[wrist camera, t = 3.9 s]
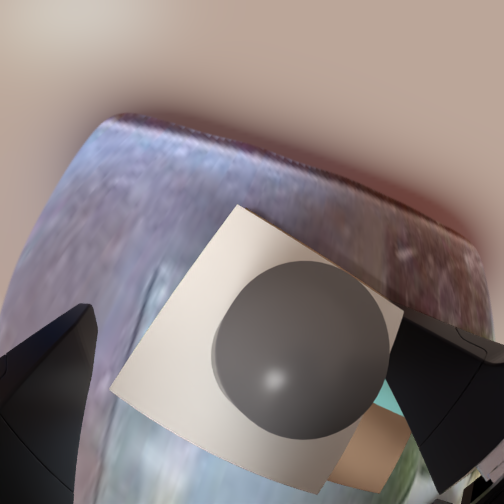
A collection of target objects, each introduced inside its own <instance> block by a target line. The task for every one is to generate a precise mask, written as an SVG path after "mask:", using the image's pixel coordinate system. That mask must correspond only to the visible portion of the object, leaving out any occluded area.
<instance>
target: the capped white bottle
mask: <svg viewBox="0 0 504 504" xmlns="http://www.w3.org/2000/svg"><path fill="white" fill-rule="evenodd" d="M403 313H404V311H403V310H401V309H400V308H398V307H397V306H395V305H394V304H392V303H391V302H389V301H388V300H387V299H385V298H384V297H382V296H381V295H379V294H378V293H376V292H375V291H373V290H372V289H370V288H369V287H367V286H366V285H364V284H363V283H361V282H360V281H358V280H357V279H355V278H354V277H353V276H351V275H350V274H348V273H347V272H345V271H343V270H341V269H340V268H338V267H337V266H335V265H334V264H332V263H331V262H329V261H327V260H326V259H324V258H323V257H321V256H320V255H318V254H317V253H315V252H313V251H312V250H310V249H309V248H307V247H306V246H304V245H302V244H301V243H299V242H298V241H296V240H294V239H293V238H291V237H290V236H288V235H286V234H285V233H283V232H282V231H280V230H278V229H277V228H275V227H274V226H272V225H270V224H269V223H267V222H265V221H264V220H262V219H261V218H259V217H257V216H256V215H254V214H252V213H251V212H249V211H247V210H246V209H244V208H243V207H241V206H239V205H238V204H237V206H236V207H235V208H234V210H233V211H232V212H231V214H230V215H229V216H228V218H227V219H226V220H225V222H224V223H223V224H222V226H221V227H220V228H219V230H218V231H217V232H216V234H215V235H214V237H213V238H212V239H211V241H210V242H209V243H208V245H207V246H206V247H205V249H204V250H203V252H202V253H201V254H200V256H199V257H198V259H197V260H196V261H195V263H194V264H193V265H192V267H191V268H190V270H189V271H188V272H187V274H186V275H185V277H184V278H183V280H182V281H181V282H180V284H179V285H178V287H177V288H176V289H175V291H174V292H173V294H172V295H171V297H170V298H169V300H168V301H167V302H166V304H165V305H164V307H163V308H162V310H161V311H160V313H159V314H158V315H157V317H156V318H155V320H154V321H153V323H152V324H151V326H150V327H149V329H148V330H147V332H146V333H145V335H144V336H143V338H142V339H141V341H140V342H139V344H138V345H137V347H136V348H135V350H134V351H133V353H132V354H131V356H130V357H129V359H128V360H127V362H126V363H125V365H124V367H123V368H122V370H121V371H120V373H119V374H118V376H117V377H116V379H115V381H114V382H113V384H112V385H111V387H110V388H109V390H110V391H111V392H113V393H114V394H115V395H117V396H118V397H120V398H121V399H122V400H124V401H125V402H126V403H128V404H129V405H131V406H132V407H134V408H135V409H136V410H138V411H139V412H141V413H142V414H144V415H145V416H147V417H148V418H150V419H151V420H153V421H155V422H156V423H158V424H159V425H161V426H163V427H164V428H166V429H167V430H169V431H171V432H173V433H174V434H176V435H178V436H179V437H181V438H183V439H185V440H186V441H188V442H190V443H192V444H194V445H196V446H197V447H199V448H201V449H203V450H205V451H207V452H209V453H211V454H213V455H215V456H217V457H219V458H221V459H223V460H225V461H228V462H230V463H232V464H234V465H236V466H239V467H241V468H243V469H246V470H248V471H250V472H253V473H255V474H258V475H260V476H263V477H265V478H268V479H271V480H273V481H276V482H279V483H282V484H284V485H287V486H290V487H293V488H296V489H300V490H303V491H306V492H309V493H313V494H316V495H317V494H318V493H319V491H320V490H321V488H322V487H323V485H324V484H325V482H326V481H327V479H328V478H329V476H330V474H331V473H332V471H333V469H334V468H335V466H336V465H337V463H338V461H339V459H340V458H341V456H342V454H343V452H344V451H345V449H346V447H347V445H348V444H349V442H350V440H351V438H352V436H353V434H354V432H355V430H356V428H357V426H358V425H359V423H360V421H361V419H362V417H363V414H364V413H365V412H366V411H367V410H368V409H369V408H370V406H371V405H372V404H373V402H374V401H375V399H376V398H377V396H378V394H379V392H380V390H381V388H382V386H383V383H384V380H385V377H386V374H387V370H388V365H389V356H390V351H391V349H392V346H393V343H394V340H395V338H396V335H397V332H398V329H399V326H400V323H401V320H402V317H403Z"/></svg>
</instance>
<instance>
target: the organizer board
mask: <svg viewBox="0 0 504 504" xmlns="http://www.w3.org/2000/svg"><path fill="white" fill-rule="evenodd" d="M245 209H246V210H247V211H249V212H251V213H252V214H254V215H256V216H257V217H259V218H261V219H262V220H264V221H265V222H267V223H269V224H270V225H272V226H274V227H275V228H277V229H278V230H280V231H282V232H283V233H285V234H286V235H288V236H290V237H291V238H293V239H294V240H296V241H298V242H299V243H301V244H302V245H304V246H306V247H307V248H309V249H310V250H312V251H313V252H315V253H317V254H318V255H320V256H321V257H323V258H324V259H326V260H327V261H329V262H331V263H332V264H334V265H335V266H337V267H338V268H340V269H341V270H343V271H345V272H347V271H346V270H344V269H343V268H341V267H340V266H338V265H337V264H335V263H334V262H332V261H330V260H329V259H327V258H326V257H324V256H323V255H321V254H320V253H318V252H316V251H315V250H313V249H312V248H310V247H309V246H307V245H305V244H304V243H302V242H301V241H299V240H298V239H296V238H294V237H293V236H291V235H290V234H288V233H286V232H285V231H283V230H282V229H280V228H278V227H277V226H275V225H274V224H272V223H270V222H269V221H267V220H265V219H264V218H262V217H261V216H259V215H257V214H256V213H254V212H252V211H251V210H249V209H247V208H245ZM347 273H348V274H350V273H349V272H347ZM350 275H351V276H353V275H352V274H350ZM353 277H354V278H355V279H357V280H358V281H360V282H361V283H363V284H364V285H366V286H367V287H369V288H370V289H372V290H373V291H375V292H376V293H378V294H379V295H381V296H382V297H384V298H386V297H385V296H383V295H382V294H380V293H379V292H377V291H376V290H374V289H373V288H371V287H370V286H368V285H367V284H365V283H364V282H362V281H361V280H359V279H358V278H356V277H355V276H353ZM386 299H388V298H386ZM388 300H389V299H388ZM390 301H391V300H390ZM410 435H411V430H410V428H409V426H408V424H407V422H406V420H405V418H404V415H403V413H402V411H401V409H400V407H399V405H398V403H397V401H396V399H395V397H394V395H393V393H392V391H391V389H390V387H389V385H388V383H387V381H386V380H384V383H383V386H382V388H381V390H380V392H379V394H378V396H377V398H376V399H375V401H374V402H373V404H372V405H371V406H370V408H369V409H368V410H367V411H366V412H365V413H364V414H363V417H362V419H361V421H360V423H359V425H358V426H357V428H356V430H355V432H354V434H353V436H352V438H351V440H350V442H349V444H348V445H347V447H346V449H345V451H344V452H343V454H342V456H341V458H340V459H339V461H338V463H337V465H336V466H335V468H334V469H333V471H332V473H331V474H330V476H329V478H328V479H327V481H331V482H334V483H338V484H341V485H345V486H349V487H353V488H357V489H361V490H365V491H369V492H374V493H380V492H381V490H382V488H383V487H384V485H385V483H386V482H387V480H388V478H389V476H390V474H391V473H392V471H393V469H394V467H395V465H396V463H397V461H398V459H399V458H400V456H401V454H402V452H403V450H404V447H405V445H406V443H407V441H408V439H409V437H410Z"/></svg>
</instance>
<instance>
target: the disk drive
mask: <svg viewBox="0 0 504 504" xmlns="http://www.w3.org/2000/svg"><path fill="white" fill-rule="evenodd" d="M432 504H453V503H450V502H446V501H442V500H439V499H436V500H435V501H434V502H433V503H432Z"/></svg>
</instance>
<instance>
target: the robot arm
mask: <svg viewBox="0 0 504 504" xmlns="http://www.w3.org/2000/svg"><path fill="white" fill-rule="evenodd" d="M385 299H386V298H385ZM387 300H388V299H387ZM388 301H389V302H391V303H392V304H394V305H395V306H397V307H398V308H400V309H401V310H403V311H404V313H403V317H402V320H401V323H400V326H399V329H398V332H397V335H396V338H395V340H394V343H393V346H392V349H391V351H390V356H389V365H388V370H387V374H386V377H385V380H386V381H387V383H388V385H389V387H390V389H391V391H392V393H393V395H394V397H395V399H396V401H397V403H398V405H399V407H400V409H401V411H402V413H403V415H404V418H405V420H406V422H407V424H408V426H409V428H410V430H411V432H412V434H413V436H414V439H415V441H416V443H417V445H418V447H419V450H420V452H421V454H422V457H423V459H424V461H425V463H426V466H427V468H428V470H429V473H430V475H431V477H432V480H433V482H434V484H435V487H436V489H437V491H438V493H439V495H440V494H442V493H443V492H445V491H446V490H448V489H449V488H451V487H452V486H454V485H455V484H456V483H458V482H459V481H461V480H462V479H463V478H465V477H466V476H467V475H469V474H470V473H471V472H472V471H474V470H475V469H476V468H477V469H478V471H479V472H480V474H481V476H480V477H479V478H477V479H476V480H475V481H474V482H473V483H471V484H470V485H469V486H467V487H466V488H465V489H464V492H463V497H462V501H461V504H504V345H503V344H500V343H497V342H494V341H491V340H488V339H485V338H482V337H480V336H477V335H474V334H472V333H469V332H467V331H464V330H462V329H459V328H457V327H454V326H452V325H449V324H447V323H444V322H442V321H440V320H437V319H435V318H432V317H430V316H427V315H425V314H422V313H420V312H418V311H415V310H413V309H410V308H408V307H405V306H403V305H400V304H398V303H395V302H393V301H390V300H388ZM97 334H98V327H97V322H96V318H95V314H94V309H93V307H92V305H91V304H82V303H80V304H78V305H76V306H75V307H73V308H72V309H70V310H69V311H67V312H66V313H64V314H63V315H61V316H60V317H58V318H57V319H55V320H54V321H52V322H51V323H49V324H48V325H46V326H45V327H43V328H42V329H40V330H39V331H37V332H36V333H35V334H33V335H32V336H30V337H29V338H27V339H26V340H24V341H23V342H22V343H20V344H19V345H17V346H16V347H15V348H13V349H12V350H10V351H9V352H8V353H6V355H3V356H2V357H1V358H0V504H73V501H74V494H73V493H74V483H75V472H76V463H77V455H78V447H79V440H80V434H81V427H82V421H83V416H84V410H85V405H86V400H87V395H88V391H89V386H90V381H91V377H92V371H93V364H94V356H95V348H96V341H97Z"/></svg>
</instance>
